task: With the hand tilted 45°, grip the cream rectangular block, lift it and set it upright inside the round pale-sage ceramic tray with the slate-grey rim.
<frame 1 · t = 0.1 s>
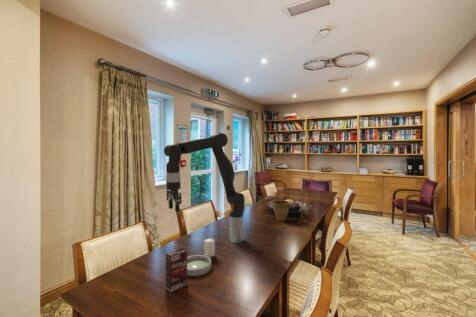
hand: (174, 209, 125), 29 cm above the table, tool pointing down, fingers open, 8 cm apart
cream rectangular block: (209, 255, 134), on the table
plant pot: (281, 220, 200), on the table
supplement box: (176, 286, 104), on the table
round tray: (195, 267, 120), on the table
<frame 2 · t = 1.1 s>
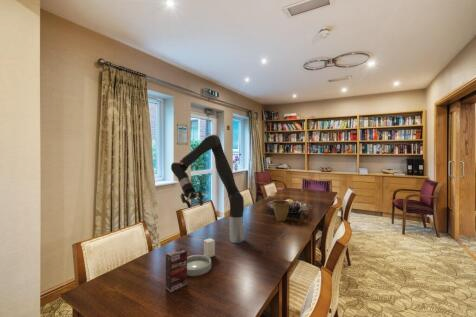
hand: (196, 206, 144), 27 cm above the table, tool tilted 45°, fingers open, 8 cm apart
nothing on the table moved.
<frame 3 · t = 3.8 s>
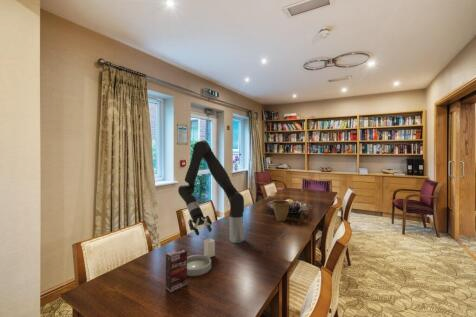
hand: (204, 233, 137), 12 cm above the table, tool tilted 45°, fingers open, 8 cm apart
nothing on the table moved.
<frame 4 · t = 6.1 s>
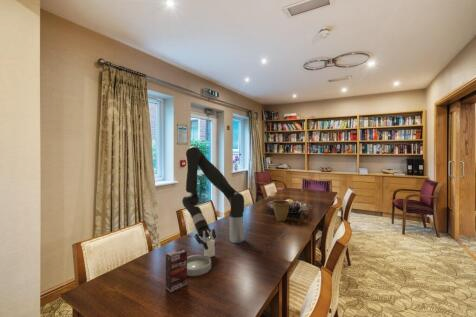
hand: (211, 247, 132), 5 cm above the table, tool tilted 45°, fingers closed on cream rectangular block, 4 cm apart
cream rectangular block: (209, 255, 134), on the table, touching gripper
everything else where it was.
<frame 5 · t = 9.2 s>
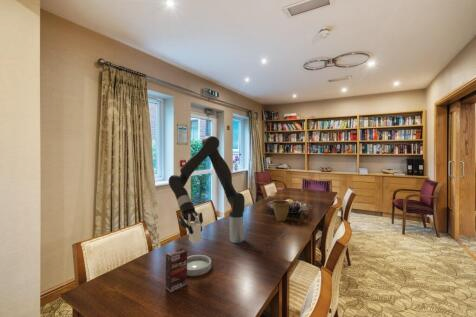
hand: (196, 232, 118), 19 cm above the table, tool tilted 45°, fingers closed on cream rectangular block, 4 cm apart
cream rectangular block: (194, 240, 120), point 14 cm above the table, touching gripper
everything else where it was.
when the fingers open (8 cm above the table, at t = 12.4 s): cream rectangular block drops 1 cm, resting on round tray.
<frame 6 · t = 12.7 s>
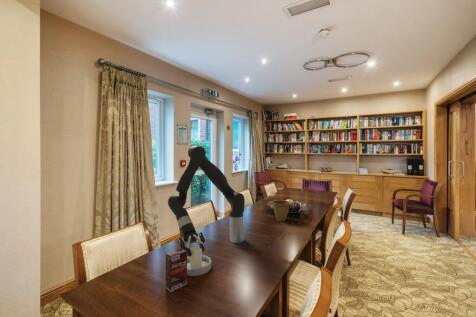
hand: (197, 253, 119), 8 cm above the table, tool tilted 45°, fingers open, 7 cm apart
cream rectangular block: (195, 265, 120), point 1 cm above the table, touching round tray
everything else where it was.
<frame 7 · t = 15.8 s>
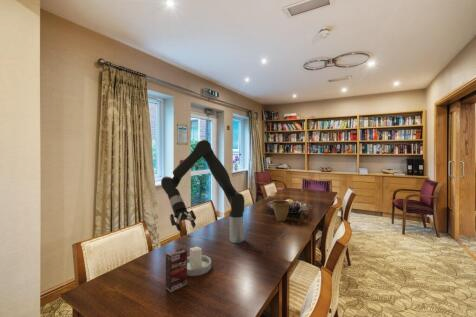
hand: (187, 228, 126), 18 cm above the table, tool tilted 45°, fingers open, 8 cm apart
nothing on the table moved.
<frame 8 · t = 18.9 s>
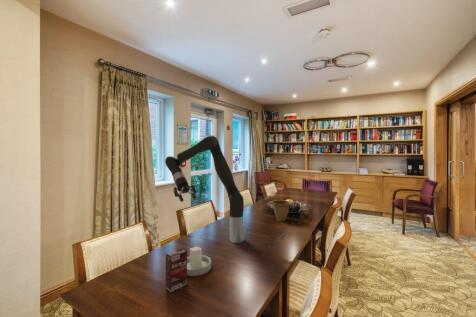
hand: (188, 200, 143), 31 cm above the table, tool tilted 45°, fingers open, 8 cm apart
nothing on the table moved.
at the end: cream rectangular block inside the target area on the round tray (0.1 cm from its centre), point 1.0 cm above the round tray's base; cream rectangular block tilted 0°; the gripper is holding nothing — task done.
